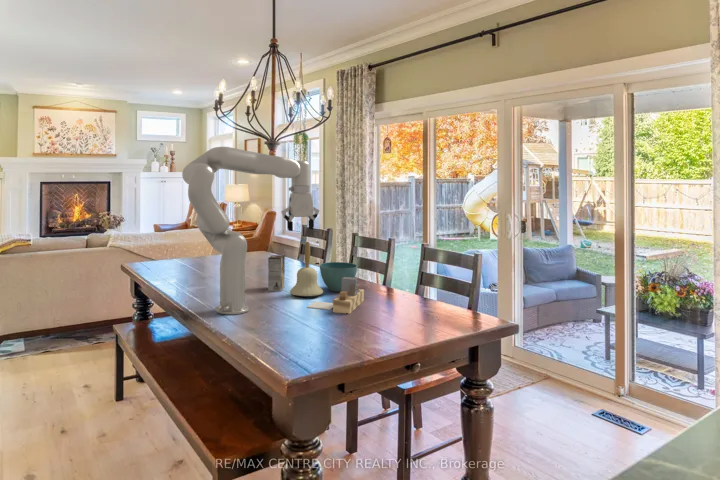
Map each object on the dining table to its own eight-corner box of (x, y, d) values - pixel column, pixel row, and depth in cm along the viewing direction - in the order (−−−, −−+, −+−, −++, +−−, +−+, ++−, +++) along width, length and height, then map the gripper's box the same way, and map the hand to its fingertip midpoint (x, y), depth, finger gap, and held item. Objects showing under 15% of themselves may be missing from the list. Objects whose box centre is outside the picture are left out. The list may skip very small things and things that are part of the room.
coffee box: (271, 287, 239) (272, 254, 237) (284, 287, 239) (285, 255, 237) (267, 291, 230) (268, 257, 228) (281, 291, 230) (281, 258, 228)
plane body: (349, 313, 194) (350, 294, 193) (332, 312, 196) (333, 292, 195) (363, 300, 217) (364, 282, 216) (348, 299, 219) (349, 281, 218)
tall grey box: (355, 296, 203) (355, 279, 202) (341, 294, 205) (341, 278, 204) (357, 294, 207) (357, 277, 206) (343, 292, 209) (344, 276, 208)
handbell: (324, 292, 231) (325, 240, 229) (322, 299, 216) (323, 244, 213) (291, 291, 231) (292, 239, 228) (287, 298, 216) (288, 243, 213)
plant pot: (352, 295, 227) (352, 269, 226) (314, 292, 231) (315, 266, 229) (359, 287, 245) (360, 263, 243) (324, 284, 248) (325, 261, 247)
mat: (330, 309, 199) (330, 309, 199) (307, 307, 201) (307, 306, 201) (337, 304, 209) (337, 303, 209) (315, 302, 211) (315, 301, 211)
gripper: (285, 190, 199) (285, 232, 201) (322, 190, 208) (322, 229, 210) (277, 190, 205) (278, 230, 207) (314, 189, 214) (314, 228, 217)
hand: (300, 230), depth 209 cm, fingers open, 9 cm apart
